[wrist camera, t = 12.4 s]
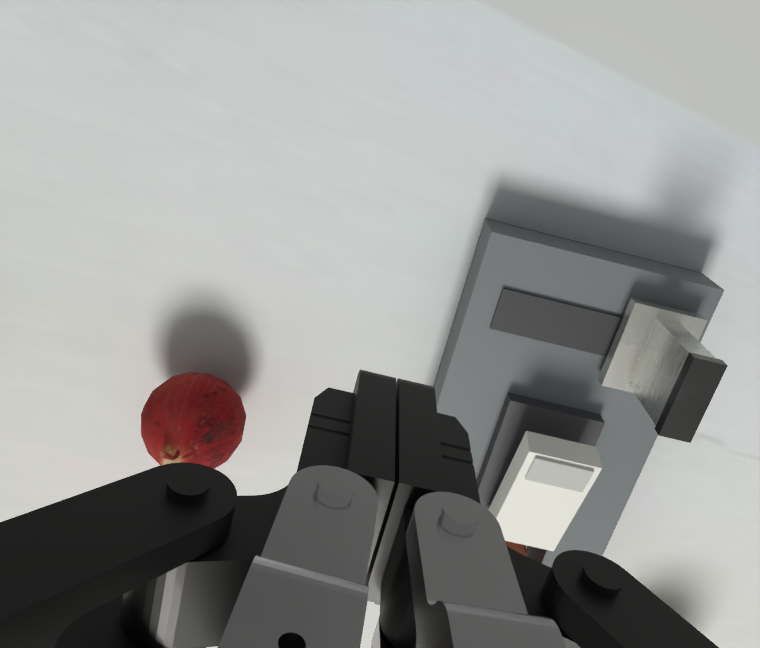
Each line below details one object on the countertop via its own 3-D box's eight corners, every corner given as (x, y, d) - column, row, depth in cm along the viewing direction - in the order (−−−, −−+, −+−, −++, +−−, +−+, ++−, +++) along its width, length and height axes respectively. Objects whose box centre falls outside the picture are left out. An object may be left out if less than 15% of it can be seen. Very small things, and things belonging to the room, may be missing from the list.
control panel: (376, 572, 49) (374, 615, 45) (485, 218, 39) (493, 236, 36) (553, 610, 50) (565, 655, 46) (701, 273, 40) (732, 296, 36)
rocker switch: (485, 515, 41) (487, 539, 40) (526, 430, 38) (529, 454, 36) (550, 529, 42) (553, 554, 40) (596, 446, 38) (603, 471, 36)
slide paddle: (597, 378, 39) (631, 436, 33) (630, 297, 37) (672, 343, 31) (665, 395, 39) (710, 455, 33) (701, 315, 37) (756, 363, 32)
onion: (240, 343, 43) (206, 406, 35) (267, 423, 45) (240, 499, 37) (151, 361, 43) (99, 426, 36) (181, 440, 45) (138, 517, 38)
